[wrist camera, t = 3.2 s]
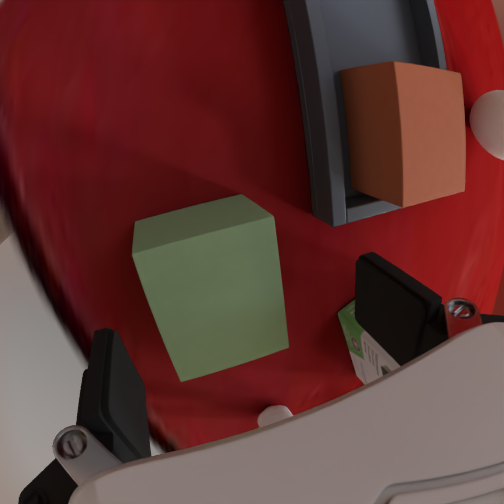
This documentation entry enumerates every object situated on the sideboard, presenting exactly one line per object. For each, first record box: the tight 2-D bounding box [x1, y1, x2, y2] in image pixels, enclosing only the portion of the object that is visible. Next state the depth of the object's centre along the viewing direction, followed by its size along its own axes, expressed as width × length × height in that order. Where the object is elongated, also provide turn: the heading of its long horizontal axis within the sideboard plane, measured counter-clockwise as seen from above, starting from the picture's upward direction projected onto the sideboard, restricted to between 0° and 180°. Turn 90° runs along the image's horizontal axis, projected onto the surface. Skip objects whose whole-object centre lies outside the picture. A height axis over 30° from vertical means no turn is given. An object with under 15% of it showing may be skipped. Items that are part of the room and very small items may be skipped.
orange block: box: [340, 61, 466, 208], centre depth 13 cm, size 5×6×4 cm
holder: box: [283, 0, 447, 227], centre depth 13 cm, size 10×18×2 cm, turn 8°
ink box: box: [338, 300, 401, 385], centre depth 17 cm, size 9×5×12 cm, turn 24°
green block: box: [132, 194, 289, 382], centre depth 14 cm, size 5×6×4 cm
